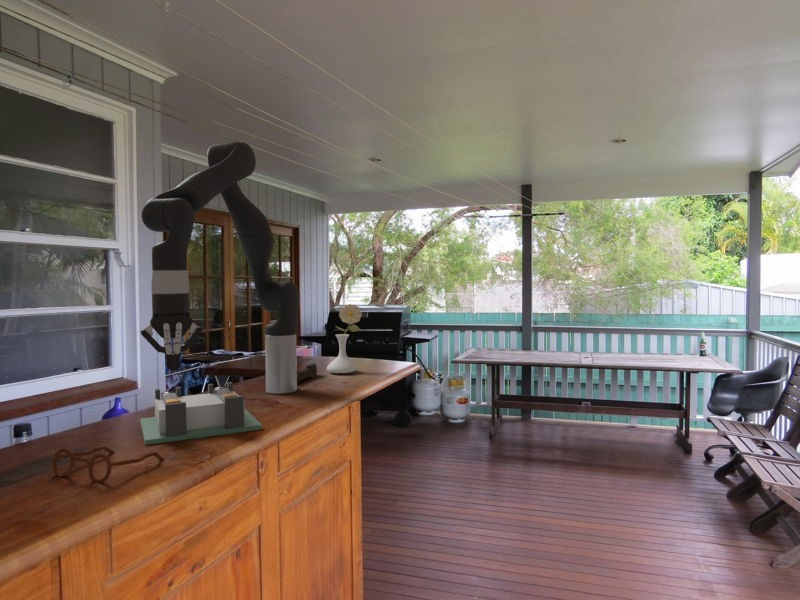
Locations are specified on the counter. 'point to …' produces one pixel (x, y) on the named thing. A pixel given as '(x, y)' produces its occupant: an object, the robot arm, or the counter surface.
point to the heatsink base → (197, 417)
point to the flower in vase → (342, 361)
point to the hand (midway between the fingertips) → (173, 370)
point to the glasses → (91, 461)
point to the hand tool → (307, 372)
